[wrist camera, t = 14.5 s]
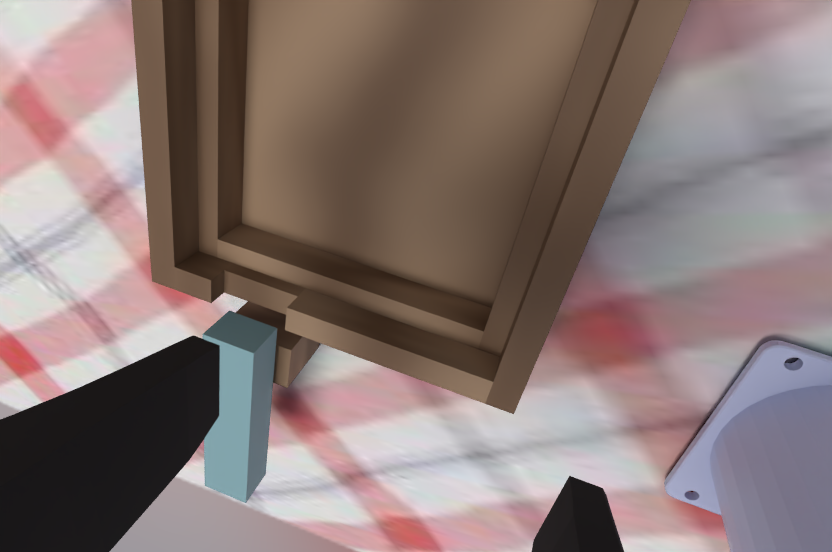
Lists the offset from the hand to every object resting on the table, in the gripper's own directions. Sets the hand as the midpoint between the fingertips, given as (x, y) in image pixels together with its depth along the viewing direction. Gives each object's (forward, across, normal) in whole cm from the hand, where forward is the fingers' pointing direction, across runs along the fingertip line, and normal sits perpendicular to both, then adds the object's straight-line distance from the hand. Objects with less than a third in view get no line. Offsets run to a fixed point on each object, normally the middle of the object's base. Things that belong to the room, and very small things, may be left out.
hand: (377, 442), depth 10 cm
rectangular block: (+7, +7, +9) cm, 13 cm away
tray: (+10, +4, -1) cm, 11 cm away
